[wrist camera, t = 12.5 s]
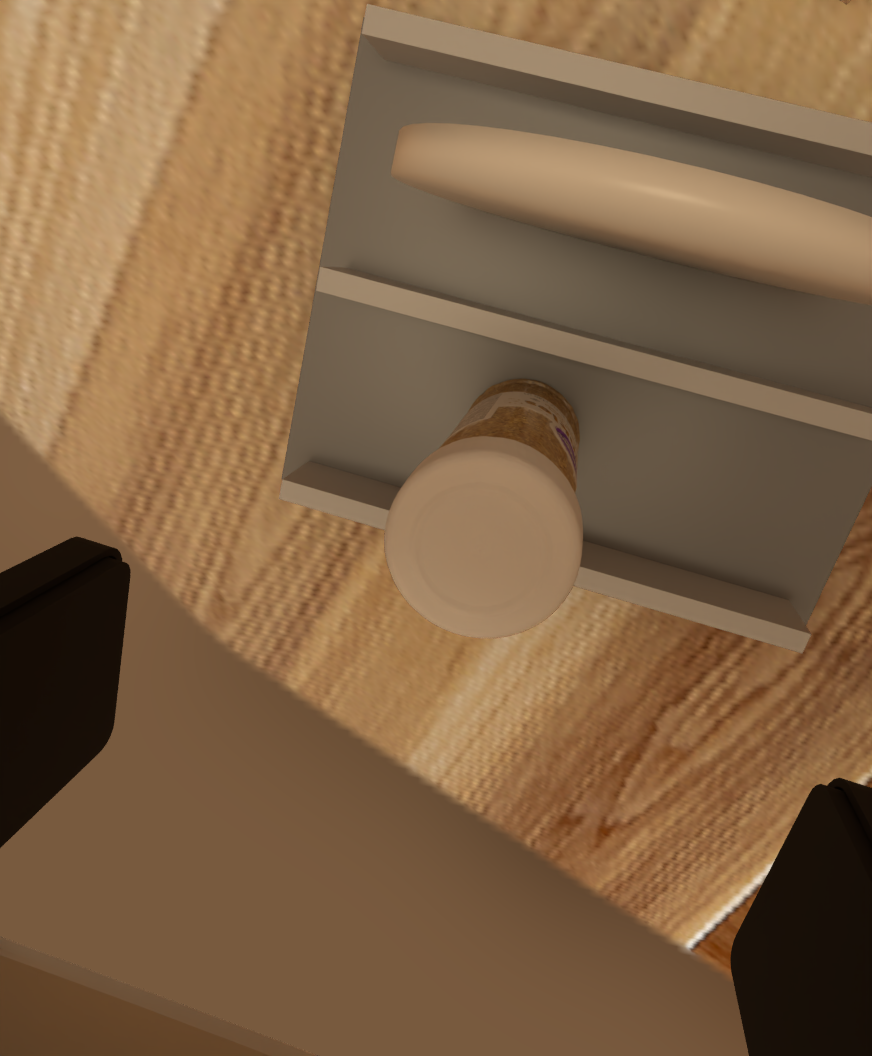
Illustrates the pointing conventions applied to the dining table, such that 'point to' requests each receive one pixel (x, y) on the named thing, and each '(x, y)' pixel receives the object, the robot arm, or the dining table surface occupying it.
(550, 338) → the dish rack
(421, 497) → the sprinkles bottle
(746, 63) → the dining table surface
